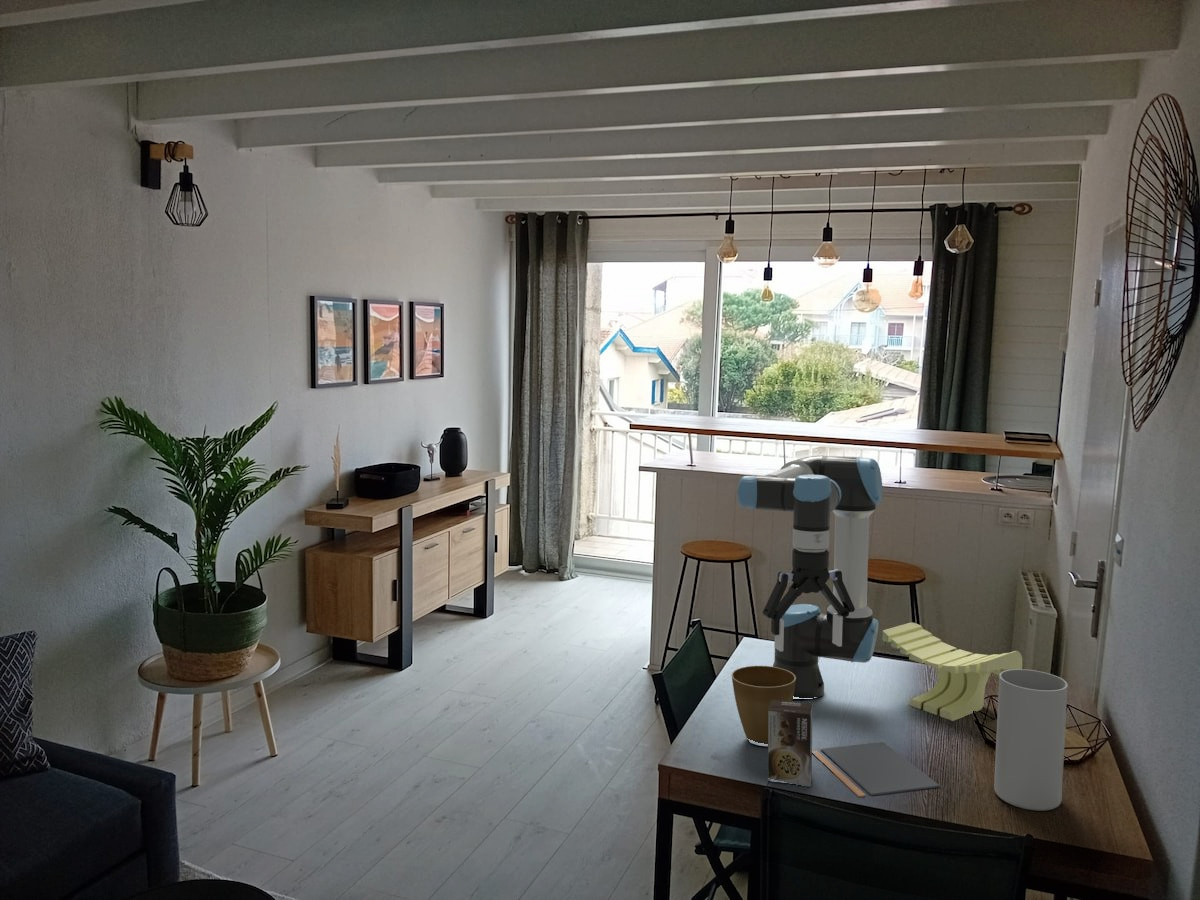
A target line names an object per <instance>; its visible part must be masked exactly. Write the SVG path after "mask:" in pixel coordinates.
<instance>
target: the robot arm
mask: <svg viewBox="0 0 1200 900" xmlns="http://www.w3.org/2000/svg"><path fill="white" fill-rule="evenodd" d="M882 478H883V477H882V473H881V468H880V465H879V463H878V462H877V460H876V459H873V458H871V457H870V458H869V457H862V456H842V455H841V456H837V455H835V456H834V455H829V456H828V455H812V456H811V455H810V456H806V457H802V458H797V459H794V460H791V461H789V462H787V463H785V464H783V465H782V466H781V468H779V469H778V470H776V471H773V472H771V473H768V474H765V475H755V474H753V475H743V476H742V477H741V478H740V480H739V481H738V485H737V492H736V493H737V500H738V501H737V502H738V504H739V506H740V507H741V508H743V509H750V510H754V511H755V510H762V511H764V510H765V511H779V512H780V511H781V512H789V513H790V512H791V513H793V517H792V518H793V520H792V521H793V523H792V546H793V549H792V554H791V555H792V557H791V559H792V560H791V566H792V570H791V573H787V572H783V571H779V572H778V573H777V579H776V584H775V585H774V588H773V589H772V591H771V594H770V595H769V598H768V599H767V602H766V604H765V606H764V608H763V610H762V615H764V616H765V617H766V618H769V619H770V620H771V622H770V624H771V625H770V628H771V629H770V632H771V633H772V635H773V636H774V661H773V665H772V667H777V668H782V669H785V670H788V671H790V672H792V673H793V674H794V675H795V676H796V682H795V689H794V695H793V696H794V697H799V698H814V697H819V696H821V695H822V694H823V693H824V694H825V683H824V679H823V676H822V673H821V670H820V666H819V658H824V659H833V660H838V661H839V660H840V661H844V662H845V661H846V662H851V663H865V664H866V663H868V662H870V661H871V660H872V657H873V655H874V651H875V648H876V643H877V638H878V632H879V623H880V622H879V620H878V619H876V618H874V617H873V610H872V609H871V608H870V607H869V606H868V603H867V602H868V574H869V573H868V570H869V569H868V567H869V539H870V538H869V537H870V534H869V532H870V530H869V529H870V516H871V515H872V514H873V513H874V512H875V511H876V506H877V505H879V504H881V503H882V502H883V501H882V500H883V479H882ZM831 512H833V514H834V544H833V545H834V549H833V550H834V553H833V557H834V558H833V568H832V569H831V570H829V569H828V568H829V565H830V564H829V563H830V553H829V550H828V549H829V548H830V522H831V520H830V518H831V517H830V516H831ZM829 579H830V580H831V581H832V583H833V589H832V590H833V591H832V590H831V589H830V587H829V586H828V584H827V581H829ZM790 581H792V583H791V585H790V586H789V588H788V591H787V592H786V589H787V586H788V584H790ZM785 592H786V593H785ZM819 592H820V593H821V594H822V595H823V596H824V598H825V599H826V600H827V602H828V603H829V604H830V605H829V606H827V608H826V613H824V612H821V609H820V607H819V606H818V605H814V604H808V603H799V604H794V602H795V601H796V600H797V598H799V597H800V596H801V595H802V594H803V593H804V594H810V593H815V594H818V593H819ZM783 595H784V596H783ZM824 694H823V695H824ZM823 695H822V696H823ZM822 696H821V697H822ZM819 698H820V697H819Z"/></svg>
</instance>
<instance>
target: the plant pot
mask: <svg viewBox="0 0 1200 900" xmlns="http://www.w3.org/2000/svg"><path fill="white" fill-rule="evenodd" d="M731 680H732V687H733V694H734V699H735V704H736V708H737V709H736V710H737V713H738V716H739V719H740V723H741V726H742V728H743V732H744V734H745V738H746V739H747V738H748V739H750V740H753V741H755V742H758V743H764V744H768V710H769V706H770V703H771V700H781V701H792V702H793V701H794V700H793V695H794V689H795V682H796V676H795V675H794V674H793V673H792V672H790V671H788V670H785V669H782V668H777V667H773V665H772V666H771V665H770V666H769V665H748V666H742V667H739V668H737V669H735V670H734V671H732V672H731Z"/></svg>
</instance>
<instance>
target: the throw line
mask: <svg viewBox="0 0 1200 900" xmlns="http://www.w3.org/2000/svg"><path fill="white" fill-rule="evenodd" d="M815 750H816V751H812V752H816V753H813V754H815V756H816V757H817V758H818V759H819V760H820V761H821V762H820V761H819V760H818V759H817V758H816V757H815V756H814V757H815V758H816V759H817V760H818V761H819V762H820V763H821V764H823V763H824V764H825V765H826V766H827V767H828V768H829V769H830V770H831V771H832V772H833V773H834V776H835V777H836V778H838V779H839V780H840V781H841V782H842V783H843V784H845V786H846V787H847V788H849V790H850V791H852V793H854V794H855V795H856V796H857V797H858V798H862V797H866V794H865V793H864V792H863V791H862V790H861V789H860V788H858V787H857V786H856V785H855V784H854V783H853V782H852V781H851V780H850V779H849V778H848V777H847V776H846V775H844V774H843V773H842V772H841V771H840V770H839V769H838V768H836V767H835V766H834V765H833V764H832V763H831V762H830V761H829V760H828V759H827V758H826V757H825V756H823V754H821V753H820V752H819V751H818V750H817V749H815ZM813 754H812V755H813ZM816 754H817V755H816ZM824 764H823V765H824ZM825 765H824V766H825ZM826 766H825V767H826ZM827 767H826V768H827ZM828 768H827V769H828ZM829 769H828V770H829ZM830 770H829V771H830ZM831 771H830V772H831ZM832 772H831V773H832ZM833 773H832V774H833Z"/></svg>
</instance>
